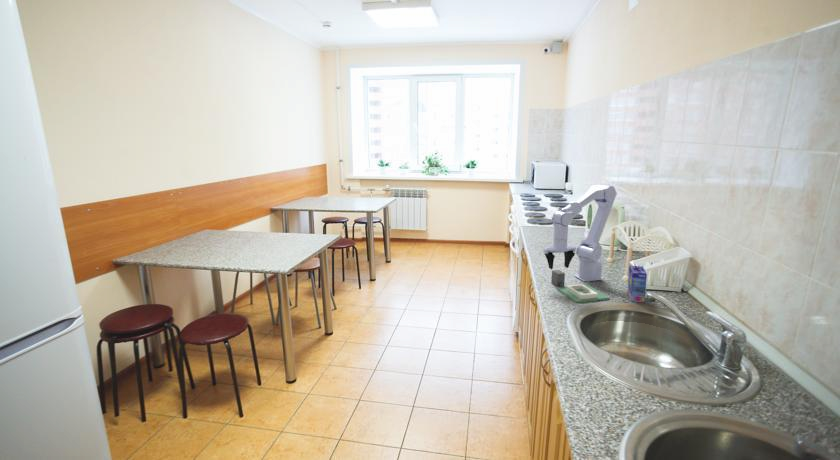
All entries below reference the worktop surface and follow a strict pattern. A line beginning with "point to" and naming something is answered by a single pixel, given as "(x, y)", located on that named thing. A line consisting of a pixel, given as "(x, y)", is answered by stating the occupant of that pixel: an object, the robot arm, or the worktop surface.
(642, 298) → the ink cartridge box
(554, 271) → the plug
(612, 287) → the worktop surface
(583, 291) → the header board
